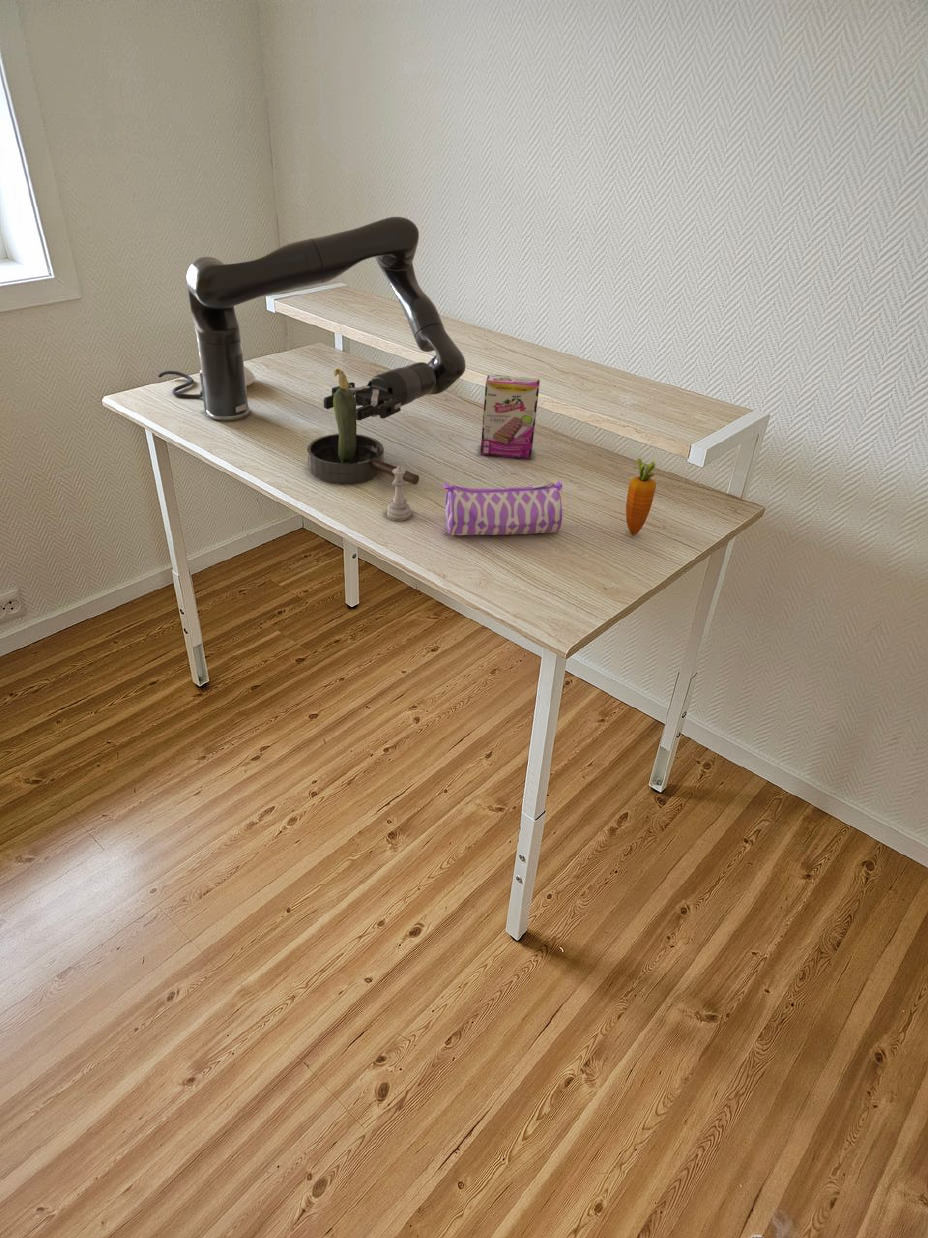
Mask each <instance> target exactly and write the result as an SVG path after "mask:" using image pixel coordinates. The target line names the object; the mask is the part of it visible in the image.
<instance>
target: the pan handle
mask: <svg viewBox="0 0 928 1238" xmlns="http://www.w3.org/2000/svg"><path fill="white" fill-rule="evenodd" d="M397 467H398V466H396V465H393V464H390V463H387V462H386V461H384V462H383V461H380V460H378V459H373V460H372V462H371V468H373V469H375V470H378V471H380V472H382V473H383V474H384V475H385V474H386V475H388V476H391V477H393V478H396V477H395V475H394V473H393V469H395V468H397ZM405 471H406V472H405V474H404V475H403V480H404V481H405V482H406V483H408V484H411V485H413V486H415V485H416V486H417V484H418V483H419V482H420V476H419V474H417V473H414V472H411V471H408V470H406V469H405Z"/></svg>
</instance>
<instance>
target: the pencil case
mask: <svg viewBox="0 0 928 1238" xmlns="http://www.w3.org/2000/svg"><path fill="white" fill-rule="evenodd" d="M442 485H443V488H444V490H446V495H445V503H444V522H445V523H444V524H445V527H446V531H447V533H448V534H449V535H450V536H465V535H466V536H467V535H468V536H473V535H480V536H484V535H485V536H488V535H490V536H498V535H499V536H500V535H502V536H504V535H506V536H507V535H532V534H547V533H548V534H551V533H557V532H559V531H560V529H561V527H562V523H563V504H562V497H561V492H560V491H561V490H562V489H563V483H562V481H561V480H558V481H557V483H556V484H555V483H553V482H547V483H546V484H545V483H544V484H537V485H533V486H523V487H522V486H520V487H519V486H518V487H517V486H515V487H506V488H473V487H464V486H458V485H456V484H452V485H450V484H448V483H447V482H442Z"/></svg>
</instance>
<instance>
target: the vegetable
mask: <svg viewBox="0 0 928 1238" xmlns="http://www.w3.org/2000/svg"><path fill="white" fill-rule="evenodd" d="M333 375H334V377H337V376H338V386H337V387H340V389H338V390H337V391H336V392H335V394H334V399H333V406H334V407H333V411H334V418H335V421H336V424H337V429H338V434H339V448H338V456H339V457H340V461H341V463H345V464H347V463H349V462H350V461H351V460H352V459H353V457H354V454H355V450H356V443H357V442H356V434H357V427H358V426H357V423H358V422H357V420H356V419H355V410H356V409H357V406H356V401H355V395H354V394H353V393H352V391H351V390H350V389H348V387H349V383H350V382H349V380H348V379H347V375H346V373H345V372H344V371H343V370H341V369H340V368H336V369H335V370H334V372H333Z"/></svg>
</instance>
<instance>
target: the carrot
mask: <svg viewBox="0 0 928 1238" xmlns="http://www.w3.org/2000/svg"><path fill="white" fill-rule="evenodd" d="M636 461H637V464H638V469H639V470H638V472H639V473H638V474H639V475H638V476H633V477H631V479H630V481H629V484H628V487H627V495H626V503H625V518H626V524H627V528H628V531H629V533H630V535H631V536H636V535H637V534H638V533H639V532H640V531H641V530H642V528H643V526H644V525H645V523H646V521H647V519H648V516H649V514H650V511H651V509H652V505H653V501H654V497H655V493H656V488H657V483H656V481H655V480H654V479H653V478H652V477H654V476H655V475H656V474H655V473H654V472H652V471H653V470H654V468H655V467H656V463H655V462H654V461H651V462H650V463H649V464H648V465H647V467H646V464H645V463H643V461H642V458H641V457H639V458H638V459H636Z"/></svg>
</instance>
